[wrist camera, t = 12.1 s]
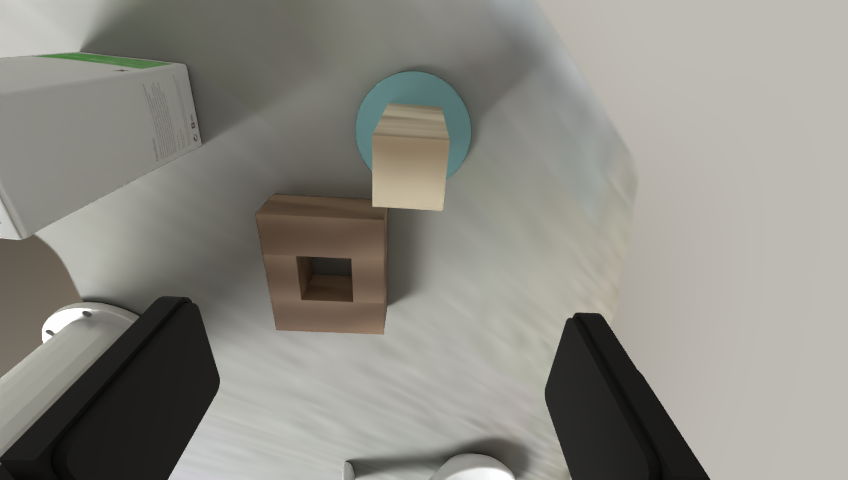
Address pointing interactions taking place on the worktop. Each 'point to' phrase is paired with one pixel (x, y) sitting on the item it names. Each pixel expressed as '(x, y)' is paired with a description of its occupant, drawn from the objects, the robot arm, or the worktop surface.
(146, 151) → the skincare box
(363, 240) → the walnut socket block
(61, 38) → the worktop surface
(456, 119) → the teal rubber pad
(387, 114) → the maple peg
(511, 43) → the worktop surface
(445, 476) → the spoon rest
